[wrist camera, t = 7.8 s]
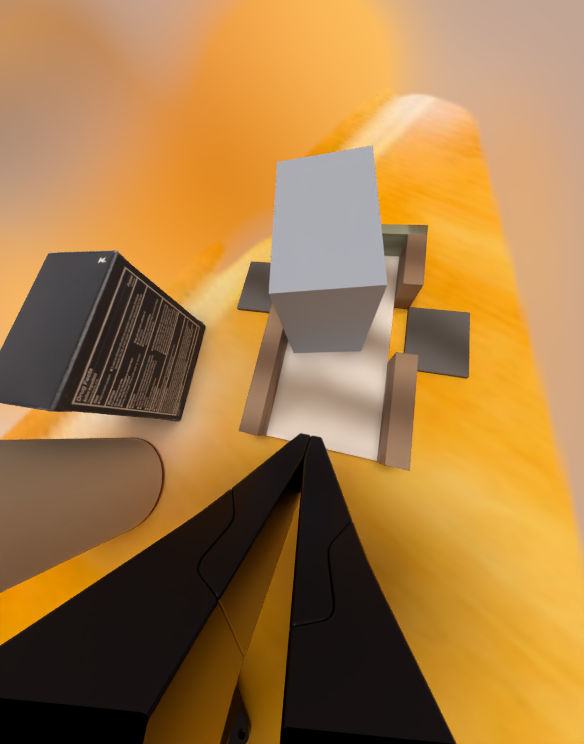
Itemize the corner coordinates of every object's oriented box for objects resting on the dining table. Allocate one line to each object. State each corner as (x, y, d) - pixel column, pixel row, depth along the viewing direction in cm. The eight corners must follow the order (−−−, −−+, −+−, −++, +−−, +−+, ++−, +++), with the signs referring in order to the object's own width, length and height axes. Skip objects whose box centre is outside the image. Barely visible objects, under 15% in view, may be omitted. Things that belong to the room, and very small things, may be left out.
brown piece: (464, 480, 16) (499, 491, 13) (204, 420, 21) (181, 417, 17) (468, 259, 21) (495, 226, 18) (256, 249, 26) (245, 221, 22)
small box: (156, 321, 25) (43, 247, 15) (207, 324, 24) (121, 245, 14) (125, 414, 22) (-37, 397, 12) (181, 422, 21) (52, 412, 11)
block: (361, 351, 19) (387, 284, 11) (293, 353, 20) (268, 293, 12) (355, 258, 22) (372, 145, 13) (296, 263, 23) (277, 162, 14)
